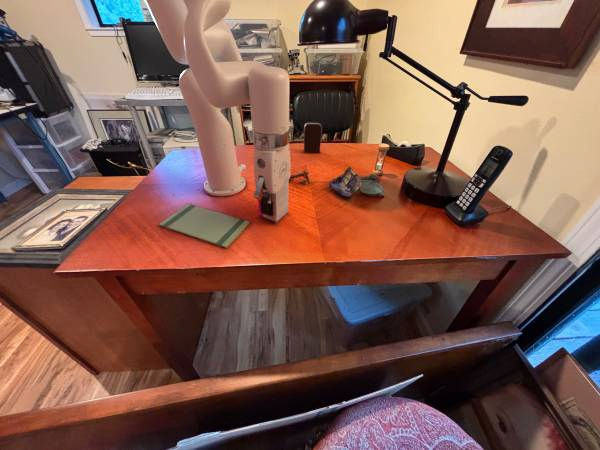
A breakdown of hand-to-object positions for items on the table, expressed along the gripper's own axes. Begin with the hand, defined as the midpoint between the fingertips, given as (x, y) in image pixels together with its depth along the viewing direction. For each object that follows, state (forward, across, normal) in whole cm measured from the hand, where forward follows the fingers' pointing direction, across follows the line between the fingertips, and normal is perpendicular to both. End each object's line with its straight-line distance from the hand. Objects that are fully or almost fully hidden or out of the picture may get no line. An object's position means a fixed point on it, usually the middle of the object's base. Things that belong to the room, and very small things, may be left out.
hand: (273, 206), depth 62 cm
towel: (+4, -10, +14) cm, 18 cm away
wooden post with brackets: (+4, +20, +1) cm, 20 cm away
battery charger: (+4, +46, +6) cm, 46 cm away
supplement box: (+3, 0, 0) cm, 3 cm away
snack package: (+3, +22, -15) cm, 26 cm away
